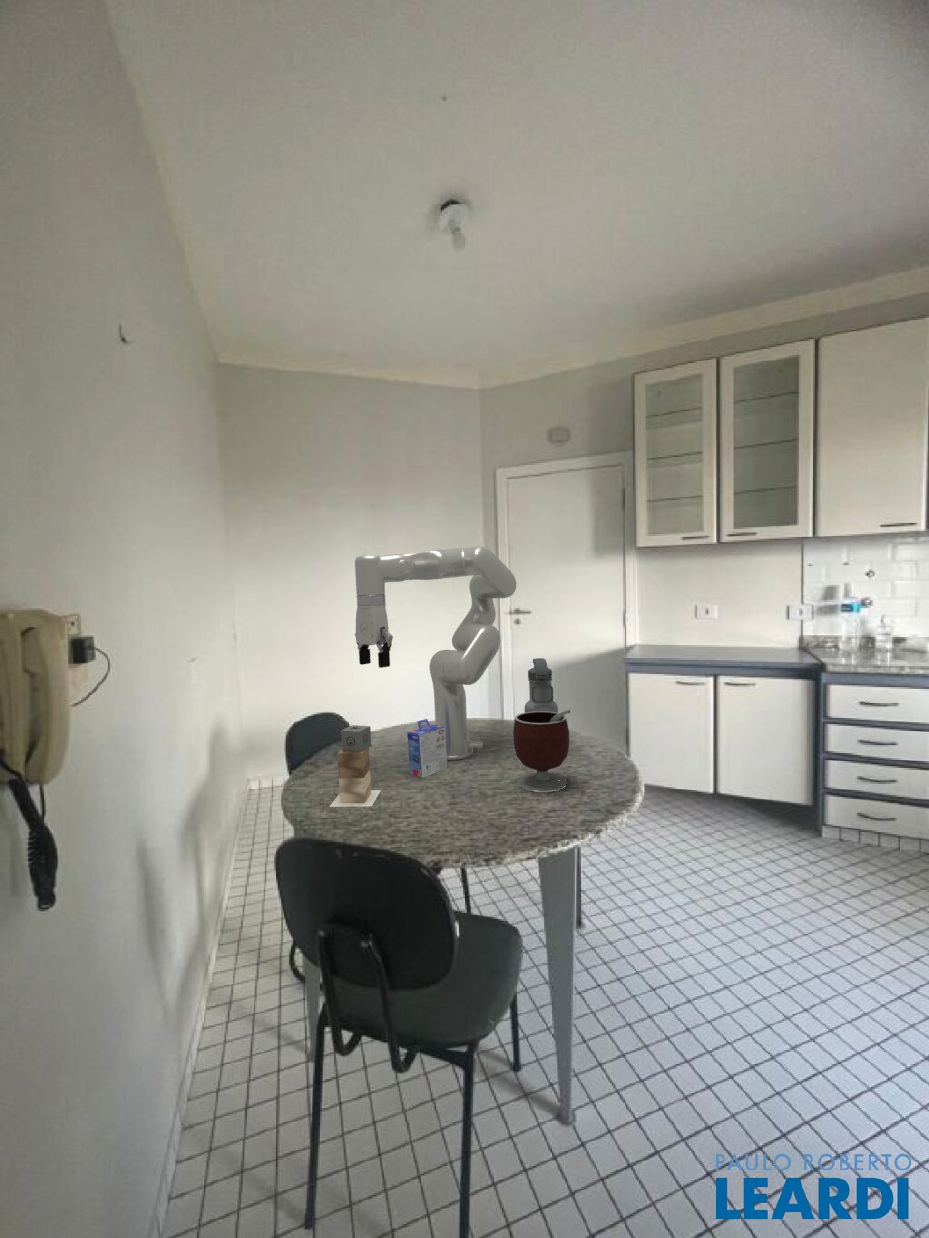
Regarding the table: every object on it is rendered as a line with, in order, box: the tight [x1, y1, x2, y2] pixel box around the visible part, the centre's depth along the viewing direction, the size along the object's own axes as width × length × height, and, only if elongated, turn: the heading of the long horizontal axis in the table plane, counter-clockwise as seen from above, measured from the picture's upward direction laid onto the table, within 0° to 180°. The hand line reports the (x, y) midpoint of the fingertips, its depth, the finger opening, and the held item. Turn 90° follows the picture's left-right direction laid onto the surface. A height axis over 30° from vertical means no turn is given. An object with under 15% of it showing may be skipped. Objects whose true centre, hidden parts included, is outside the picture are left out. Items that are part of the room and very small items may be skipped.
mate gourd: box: [512, 709, 571, 791], centre depth 138 cm, size 16×14×20 cm
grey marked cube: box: [340, 724, 372, 753], centre depth 133 cm, size 5×5×5 cm
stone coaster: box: [329, 789, 382, 808], centre depth 133 cm, size 10×10×1 cm
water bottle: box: [524, 657, 559, 713], centre depth 163 cm, size 10×10×28 cm
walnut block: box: [337, 748, 371, 779], centre depth 133 cm, size 6×6×6 cm
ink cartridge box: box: [407, 718, 448, 778], centre depth 151 cm, size 10×6×14 cm, turn 137°
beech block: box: [338, 769, 372, 803], centre depth 133 cm, size 6×6×6 cm
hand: (374, 665), depth 148 cm, fingers open, 9 cm apart
